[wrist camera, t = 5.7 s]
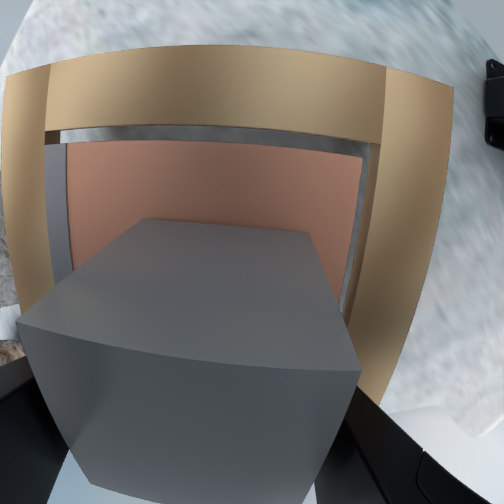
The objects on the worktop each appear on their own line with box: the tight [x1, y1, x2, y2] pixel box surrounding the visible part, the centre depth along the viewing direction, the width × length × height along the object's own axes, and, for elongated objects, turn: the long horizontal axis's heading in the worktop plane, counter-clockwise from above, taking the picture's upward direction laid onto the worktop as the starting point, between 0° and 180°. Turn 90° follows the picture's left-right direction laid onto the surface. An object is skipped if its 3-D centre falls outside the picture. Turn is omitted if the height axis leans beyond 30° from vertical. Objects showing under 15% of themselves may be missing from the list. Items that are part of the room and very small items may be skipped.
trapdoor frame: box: [1, 45, 454, 406], centre depth 15 cm, size 16×16×9 cm
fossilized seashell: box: [0, 172, 19, 308], centre depth 18 cm, size 10×9×10 cm
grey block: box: [15, 219, 362, 504], centre depth 7 cm, size 5×5×6 cm
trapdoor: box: [44, 140, 363, 304], centre depth 11 cm, size 10×10×1 cm
